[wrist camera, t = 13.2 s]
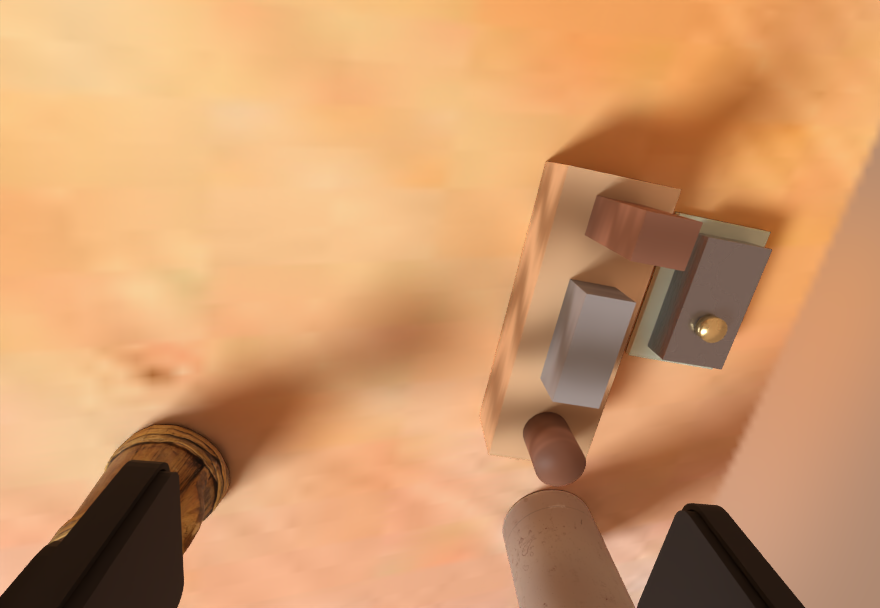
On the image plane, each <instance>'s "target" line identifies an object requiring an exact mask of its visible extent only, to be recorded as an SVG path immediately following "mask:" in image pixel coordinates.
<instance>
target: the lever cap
mask: <svg viewBox="0 0 880 608" xmlns="http://www.w3.org/2000/svg"><path fill="white" fill-rule="evenodd" d="M771 252H772V249H769V248H766V247H763V246H759V245H756V244H753V243H750V242H745V241H740V240H735V239H730V238H725V237H720V236H714V235H709V234H704V233H699V234H698V237H697V240H696V242H695V245H694V248H693V250H692V253H691V256H690V258H689V261H688V264H687V266H686V269H685V271H680V270H675V271H674V273H673V276H672V279H671V282H670V284H669V287H668V290H667V293H666V296H665V298H664V301H663V304H662V307H661V309H660V312H659V315H658V318H657V320H656V323H655V326H654V329H653V331H652V334H651V337H650V340H649V342H648V345H647V346H648V347H649V348H650V349H651V350H652V351H653V352H654V353H656V354H657V355H658V356H659V357H660V358H661V359H662V360H666V361H673V362H679V363H685V364H691V365H697V366H704V367H710V368H716V369H722V367H723V365H724V363H725V360H726V358H727V355H728V353H729V351H730V348H731V346H732V344H733V341H734V339H735V337H736V334H737V332H738V330H739V327H740V325H741V322H742V320H743V318H744V315H745V313H746V311H747V308H748V306H749V304H750V301H751V299H752V296H753V294H754V292H755V289H756V287H757V285H758V282H759V280H760V278H761V275H762V273H763V271H764V268H765V266H766V263H767V261H768V259H769V256H770V254H771Z"/></svg>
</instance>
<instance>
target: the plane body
mask: <svg viewBox="0 0 880 608" xmlns="http://www.w3.org/2000/svg"><path fill="white" fill-rule="evenodd" d="M680 192H681V189H677V188H672V187H668V186H663V185H659V184H654V183H649V182H645V181H640V180H635V179H631V178H626V177H621V176H617V175H612V174H607V173H603V172H598V171H593V170H589V169H584V168H579V167H575V166H570V165H564V164H559V163H553V162H547V161H546V163H545V167H544V171H543V175H542V179H541V182H540V186H539V190H538V194H537V198H536V201H535V205H534V209H533V213H532V217H531V221H530V224H529V228H528V232H527V236H526V240H525V243H524V247H523V251H522V255H521V259H520V263H519V266H518V270H517V274H516V278H515V282H514V286H513V289H512V293H511V297H510V301H509V305H508V308H507V312H506V316H505V320H504V324H503V328H502V331H501V335H500V339H499V343H498V347H497V350H496V354H495V358H494V362H493V366H492V370H491V373H490V377H489V381H488V385H487V389H486V393H485V396H484V400H483V404H482V408H481V412H480V415H479V416H480V421H481V425H482V429H483V433H484V437H485V442H486V446H487V450H488V454H489V455H492V456H500V457H507V458H514V459H521V460H528V461H532V463H533V466H534V469H535V472H536V474H537V476H538V478H539V479H540V480H541V481H542V482H543V483H545V484H547V485H550V486H565V485H568V484H571V483H573V482H574V481H576V480H577V479H578V478H579V477H580V476H581V475H582V473H583V472H584V469H585V466H586V457H587V454H588V451H589V448H590V446H591V443H592V440H593V437H594V434H595V432H596V429H597V426H598V423H599V420H600V417H601V415H602V412H603V409H604V406H605V403H606V401H607V398H608V395H609V392H610V389H611V386H612V384H613V381H614V378H615V375H616V372H617V370H618V367H619V364H620V361H621V358H622V356H623V353H624V350H625V347H626V344H627V341H628V339H629V336H630V333H631V330H632V327H633V325H634V322H635V319H636V316H637V313H638V311H639V308H640V305H641V302H642V299H643V296H644V294H645V291H646V288H647V285H648V282H649V280H650V277H651V274H652V271H653V268H654V266H659V267H664V268H669V269H674V270H680V271H685V269H686V266H687V264H688V261H689V258H690V256H691V253H692V250H693V248H694V245H695V242H696V240H697V237H698V234H699V232H700V229H701V226H702V224H703V222H700V221H696V220H693V219H689V218H686V217H682V216H679V215H676V214H673V212H674V209H675V206H676V204H677V201H678V198H679V195H680Z"/></svg>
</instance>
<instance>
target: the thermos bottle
mask: <svg viewBox="0 0 880 608" xmlns="http://www.w3.org/2000/svg"><path fill="white" fill-rule="evenodd" d="M503 536H504V541H505V546H506V550H507V555H508V559H509V563H510V567H511V572H512V576H513V581H514V585H515V590H516V594H517V599H518V603H519V608H635V606H634V604H633V602H632V600H631V598H630V596H629V594H628V592H627V589H626V587H625V585H624V583H623V581H622V579H621V577H620V575H619V572H618V570H617V568H616V566H615V564H614V562H613V560H612V558H611V555H610V553H609V551H608V549H607V547H606V545H605V543H604V541H603V538H602V536H601V534H600V532H599V530H598V528H597V526H596V524H595V521H594V519H593V517H592V515H591V513H590V511H589V509H588V507H587V506H586V504H585V503H584V502H583V501H582V500H581V499H579V498H578V497H577V496H575V495H573V494H571V493H568V492H565V491H560V490H544V491H539V492H535V493H533V494H530V495H528V496H526V497H524V498H523V499H521V500H519V501H518V502H517V503H516V504H515V505H514V506H513V507H512V508H511V509H510V510H509V512H508V514H507V516H506V517H505V520H504V524H503Z"/></svg>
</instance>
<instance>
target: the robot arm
mask: <svg viewBox="0 0 880 608" xmlns="http://www.w3.org/2000/svg"><path fill="white" fill-rule="evenodd" d="M183 586H184V573H183V550H182V528H181V506H180V483H179V474H178V473H177V472H170V468H169V465H168V463H166V462H156V461H144V460H130V461H128V462H127V463H126V464H125V465H124V466H123V467H122V468H121V469H120V471H119V472H118V473H117V474H116V475H115V477H114V478H113V479H112V480H111V481H110V483H109V484H108V485H107V486H106V488H105V489H104V490H103V491H102V492H101V494H100V495H99V496H98V497H97V498H96V500H95V501H94V502H93V503H92V505H91V506H90V507H89V508H88V509H87V511H86V512H85V513H84V514H83V516H82V517H81V518H80V519H79V520H78V522H77V523H76V524H75V525H74V526H73V528H72V529H71V530H70V531H69V533H68V534H67V535H66V536H65V537H64V539H63V540H59V541H53V542H51V543H50V544H48V545H46V546H45V547H44V548H43V549H42V550H41V551H40V552H39V553H38V554H37V555H36V556H35V557H34V558H33V559H32V560H31V561H30V563H29V564H28V565H27V566H26V567H25V568H24V570H23V571H22V572H21V573H20V574H19V575H18V577H17V578H16V579H15V580H14V581H13V582H12V584H11V585H10V586H9V587H8V588H7V590H6V591H5V592H4V593H3V594H2V595H1V597H0V608H177V607H178V605H179V602H180V599H181V596H182V592H183ZM637 608H805V607H804V606H803V605H802V603H801V602H800V601H799V600H798V599H797V597H796V596H795V595H794V594H793V592H792V591H791V590H790V589H789V587H788V586H787V585H786V584H785V583H784V581H783V580H782V579H781V578H780V577H779V575H778V574H777V573H776V572H775V570H773V568H772V567H771V565H770V564H769V563H768V562H767V561H766V559H765V558H764V557H763V556H762V554H761V553H760V552H759V551H758V550H757V548H756V547H755V546H754V545H753V543H752V542H751V541H750V540H749V539H748V538H747V536H746V535H745V534H744V532H743V531H742V530H741V529H740V528H739V526H738V525H737V524H736V523H735V522H734V520H733V519H732V518H731V517H730V515H729V514H728V513H727V512H726V511H725V510H724V509H723V508H722V507H720V506H718V505H707V504H694V503H690V504H687V505H685V506H684V508H683V509H682V511H678V512H677V513H676V515H675V517H674V519H673V522H672V524H671V527H670V529H669V531H668V534H667V536H666V538H665V541H664V543H663V546H662V548H661V550H660V553H659V555H658V558H657V560H656V562H655V565H654V567H653V569H652V572H651V574H650V577H649V579H648V581H647V584H646V586H645V588H644V591H643V593H642V596H641V598H640V600H639V603H638V606H637Z"/></svg>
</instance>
